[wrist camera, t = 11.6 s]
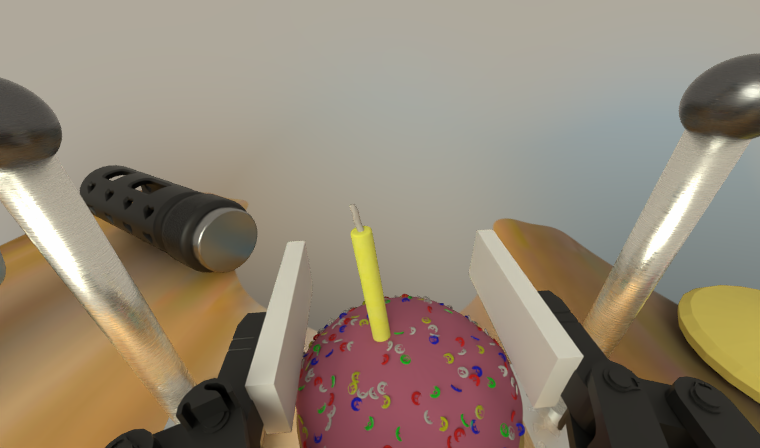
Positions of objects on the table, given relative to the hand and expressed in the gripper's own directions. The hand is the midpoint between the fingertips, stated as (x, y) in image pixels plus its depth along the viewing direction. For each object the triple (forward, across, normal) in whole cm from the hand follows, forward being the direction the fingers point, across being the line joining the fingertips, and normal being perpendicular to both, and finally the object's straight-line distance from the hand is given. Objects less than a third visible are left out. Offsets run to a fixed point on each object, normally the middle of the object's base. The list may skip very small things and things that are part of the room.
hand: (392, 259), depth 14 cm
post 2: (0, +13, -18) cm, 22 cm away
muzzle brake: (+28, -29, -18) cm, 44 cm away
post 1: (0, -14, -18) cm, 22 cm away
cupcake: (-5, 0, -7) cm, 9 cm away
